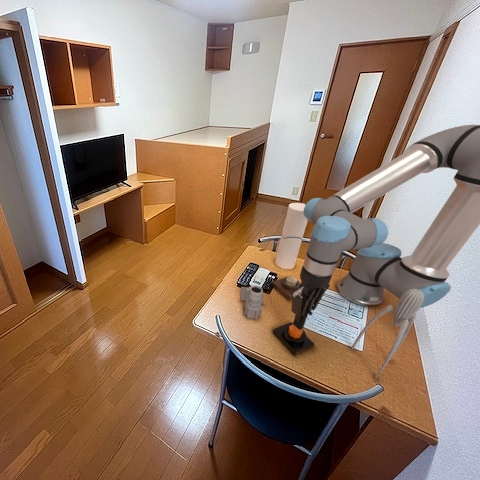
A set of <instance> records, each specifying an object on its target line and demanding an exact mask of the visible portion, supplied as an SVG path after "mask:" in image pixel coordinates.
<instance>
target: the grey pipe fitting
mask: <svg viewBox="0 0 480 480" xmlns="http://www.w3.org/2000/svg"><path fill="white" fill-rule="evenodd" d="M239 297H240V299H239V300H240V302H244V315H245V316H246V318H247V319H254V320H258V318H259V317H260V315H262V310H263V309H262V305H264V290H263V288H262V287H261V286H258V285H256V284H255V285H251V286H250V287H247V286H241V287H240V296H239Z"/></svg>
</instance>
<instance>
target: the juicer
mask: <svg viewBox="0 0 480 480" xmlns="http://www.w3.org/2000/svg"><path fill="white" fill-rule="evenodd" d="M424 298H425V297H424V294H423V293H422V292H421V291H420V290H418V289H409V290H407V291H405V292H404V293H403V295H402V296H401V298H400V299H399V298H398V299H399V300H398V301H397V304H396V307H395V309H394V307H393V306H392V305H391V304H389V305H386V307H384V308H383V309H382V310H380V311H379V312H378V313H376V314H375V315H374V316H373V317H372V318H371V319H370V320H369V321H368V322H367V323H366V324H365V326H364V327H363V328H362V329H361V331H360V333H359V334H358V335H357V337H356V339H355V340H354V342H353V344H352V346H351V347H350V349H351V350H354V349H355V348H356V345H357V344H358V342H359V341H361V338H362V337H363V335H364V334H365V333H366V332H367V330H368V329H369V328H370V327H371V326H372V325H373V323H374V322H376V321H377V320H378V319H379V318H380V317H382V316H383V315H385V314H387V313H391V314H392V315H393V328H396V327H399V328H398V332H397V334H396V338H395V339H394V342H393V344H392V346H391V348H390V350H389V352H388V354H387V356H386V358H385V360H384V362H383V363H382V365H381V367H380V369H379V370H378V372H377V374H376V375H375V377H374V379H375V380H377V378H378V377H379V376H380V375H381V374H382V371H383V370H384V369H385V367H386V366H387V364H388V363H389V362H391V360H392V359H393V358H394V356H395V355H396V354H397V352H398V351H399V349H400V348H401V346H402V344H403V343H404V341H405V339H406V338H407V336H408V334H409V333H410V331H411V329H412V326H413V325H414V321H415V318H416V316H417V315H416V314H417V312H418V311H419V309H421V308H420V307H421V305H422V303H423V301H424Z"/></svg>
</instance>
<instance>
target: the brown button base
mask: <svg viewBox="0 0 480 480" xmlns="http://www.w3.org/2000/svg"><path fill="white" fill-rule="evenodd" d="M290 276H291V275H288V276H285V277H282V278H279V279H276V280H273V281H271V283H270V286H271V287H272V288H273V289H274V290H275V291H276V292H278V293H279V294H280V295H281V296H282V297H283V298H284V299H286V300H287V301H288V302H289V301H292V295H291V292H292V291H295V292H296V291H297V290H298V289H299V285H300V284H301V282H300V281H299V280H297V283H296V285H295V286H290V285H287V284H286V278H287V277H290Z"/></svg>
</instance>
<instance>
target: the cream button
mask: <svg viewBox="0 0 480 480" xmlns="http://www.w3.org/2000/svg"><path fill="white" fill-rule="evenodd" d="M289 276H290V277H288V276H286V277H287V278H286V284H287V285H290V286H295V285H296V283H297V281H298V279H297V278H296V277H294V276H292V275H289Z"/></svg>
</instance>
